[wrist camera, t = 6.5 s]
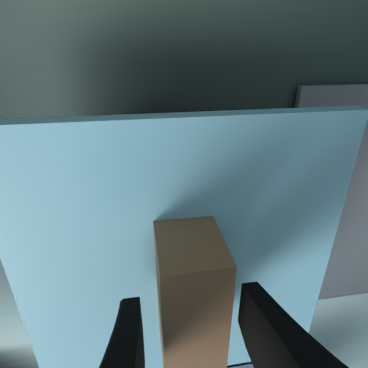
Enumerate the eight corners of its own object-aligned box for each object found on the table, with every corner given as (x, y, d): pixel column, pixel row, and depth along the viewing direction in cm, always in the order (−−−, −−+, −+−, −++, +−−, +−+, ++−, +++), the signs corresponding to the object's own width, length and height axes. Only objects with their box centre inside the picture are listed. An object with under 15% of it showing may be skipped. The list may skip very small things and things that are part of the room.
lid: (296, 340, 18) (334, 410, 14) (53, 379, 16) (31, 472, 12) (355, 105, 12) (448, 132, 8) (-34, 120, 10) (-123, 164, 6)
